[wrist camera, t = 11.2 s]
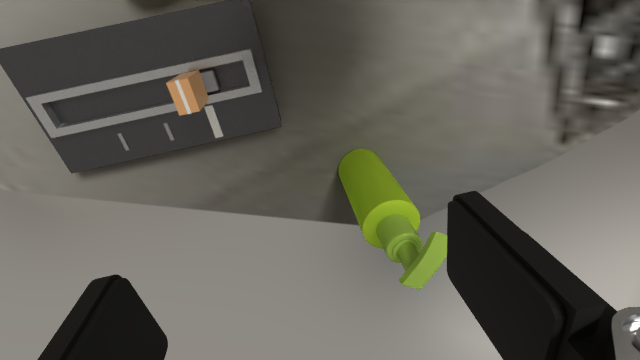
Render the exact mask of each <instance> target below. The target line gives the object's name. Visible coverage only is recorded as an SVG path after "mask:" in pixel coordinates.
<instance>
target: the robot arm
mask: <svg viewBox="0 0 640 360" xmlns="http://www.w3.org/2000/svg"><path fill="white" fill-rule="evenodd" d="M447 230H448V231H447V272H448V276H449V278H450V280H451V282H452V283H453V285H454V286H455V288H456V289H457V291H458V292H459V294H460V295H461V297H462V298H463V300H464V301H465V303H466V304H467V306H468V307H469V309H470V310H471V312H472V313H473V315H474V316H475V318H476V319H477V321H478V322H479V324H480V325H481V327H482V328H483V330H484V331H485V333H486V334H487V336H488V337H489V339H490V340H491V342H492V343H493V345H494V346H495V348H496V349H497V351H498V352H499V354H500V355H501V357H502V358H503V360H640V307H628V308H625V309H622V310H619V311H618V312H617V311H616V310H615V309H614V308H613V307H611V306H610V305H609V304H608V303H607V302H606V301H604V300H603V299H602V298H601V297H600V296H599V295H598V294H596V293H595V292H594V291H593V290H592V289H591V288H589V287H588V286H587V285H586V284H585V283H584V282H582V281H581V280H580V279H579V278H578V277H577V276H576V275H574V274H573V273H572V272H571V271H570V270H569V269H567V268H566V267H565V266H564V265H563V264H562V263H560V262H559V261H558V260H557V259H556V258H554V256H552V255H551V254H550V253H549V252H548V251H547V250H545V249H544V248H543V247H542V246H541V245H540V244H538V243H537V242H536V241H535V240H534V239H533V238H531V237H530V236H529V235H528V234H527V233H525V232H524V231H522V230H521V229H520V228H519V227H518V226H516V225H515V224H514V223H513V222H512V221H510V220H509V219H508V218H507V217H506V216H505V215H504V214H503V213H501V212H500V211H499V210H498V209H497V208H496V207H494V206H493V205H492V204H491V203H490V202H489V201H487V200H486V199H485V198H484V197H483V196H482V195H481V194H479V193H478V192H476V191H471V192H467V193H463V194H458V195H455V196H454V197H453V201H451V202H449V203H448V227H447ZM167 347H168V342H167V337H166V335H165V334H164V332H163V331H162V329H161V328H160V326H159V325H158V323H157V322H156V321H155V319H154V318H153V316H152V315H151V313H150V312H149V310H148V309H147V307H146V306H145V304H144V303H143V301H142V300H141V298H140V297H139V296H138V294H137V292H136V291H135V289H134V288H133V287H132V285H131V283H130V282H129V281H128V280H127V279H126V278H122V277H121V276H119V275H111V276H107V277H103V278H98V279H95V280H93V281H92V282H91V283H90V284H89V285H88V287H87V288H86V290H85V291H84V292H83V294H82V295H81V297H80V298H79V300H78V301H77V303H76V304H75V306H74V307H73V309H72V310H71V311H70V313H69V315H68V316H67V317H66V319H65V320H64V322H63V323H62V325H61V326H60V328H59V329H58V331H57V332H56V333H55V335H54V336H53V338H52V339H51V341H50V342H49V344H48V345H47V347H46V348H45V350H44V351H43V352H42V354H41V355H40V357H39V358H38V360H164V358H165V355H166V351H167Z"/></svg>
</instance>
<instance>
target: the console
mask: <svg viewBox="0 0 640 360" xmlns="http://www.w3.org/2000/svg"><path fill="white" fill-rule="evenodd" d="M0 64H1V66H2V67H3V69H4V70H5V72H6V73H7V75H8V77H9V78H10V80H11V81H12V83H13V84H14V86H15V87H16V89H17V90H18V92H19V93H20V95H21V97H22V98H23V100H24V101H25V103H26V104H27V106H28V107H29V109H30V110H31V112H32V114H33V115H34V117H35V118H36V120H37V121H38V123H39V124H40V126H41V127H42V129H43V130H44V132H45V134H46V135H47V137H48V138H49V140H50V141H51V143H52V144H53V146H54V147H55V149H56V151H57V152H58V154H59V155H60V157H61V158H62V160H63V161H64V163H65V164H66V166H67V167H68V169H69V171H70V172H71V173H76V172H80V171H85V170H89V169H94V168H98V167H103V166H107V165H111V164H116V163H120V162H125V161H129V160H134V159H138V158H143V157H147V156H152V155H156V154H161V153H165V152H170V151H174V150H179V149H183V148H188V147H192V146H197V145H201V144H206V143H210V142H215V141H219V140H223V139H228V138H232V137H237V136H241V135H246V134H250V133H255V132H259V131H264V130H268V129H273V128H277V127H281V119H280V115H279V111H278V107H277V103H276V99H275V95H274V91H273V87H272V83H271V79H270V76H269V72H268V68H267V64H266V60H265V56H264V52H263V48H262V44H261V40H260V36H259V32H258V28H257V25H256V21H255V17H254V13H253V9H252V5H251V1H250V0H230V1H225V2H220V3H215V4H211V5H206V6H201V7H196V8H192V9H187V10H182V11H177V12H173V13H168V14H163V15H158V16H154V17H149V18H144V19H139V20H135V21H130V22H125V23H120V24H116V25H111V26H106V27H101V28H97V29H92V30H87V31H82V32H78V33H73V34H68V35H63V36H59V37H54V38H49V39H44V40H40V41H35V42H30V43H25V44H21V45H16V46H11V47H6V48H2V49H0ZM197 70H199V72H205V71H209V70H214V73H215V76H216V79H217V82H218V85H219V88H220V89H219V90H217V91H212V92H207V94H208V97H209V100H208V101H207V103H206V104H205V105H204V107H203V108H202V109H201V111H199V112H194V113H191V114H185V115H180V116H179V113H178V111H177V108H176V106H175V103H174V101H173V99H172V96H171V94H170V91H169V89H168V87H167V84H166V83H167V82H168V81H170V80H172V79H173V78H175V77H176V76H178V75H179V74H183V73H188V72H192V71H197Z"/></svg>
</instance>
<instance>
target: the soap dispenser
mask: <svg viewBox="0 0 640 360" xmlns="http://www.w3.org/2000/svg"><path fill="white" fill-rule="evenodd" d="M338 172H339V177H340V179H341V182H342V184H343V186H344V189H345V191H346V194H347V196H348V199H349V201H350V204H351V206H352V208H353V211H354V213H355V216H356V218H357V221H358V223H359V225H360V228H361V230H362V233H363V235H364V237H365V239H366V241H367V242H368V243H370V244H371V245H372V246H374V247H377V248H383V249H384V250H385V252H386V254H387V256H388V258H389V259H390V260H391V261H393V262H397V263H402V265H403V267H404V269H405V271H406V272H405V273H404V274H403V275H402V277H401V278H400V279H399V281H400V283H401V284H402V285H405V286H408V287H412V288H416V289H421V288H422V287H423V286H424V285H425V284H426V282H427V281H428V280H429V279H430V278H431V277H432V276H433V275H434V273H435V272H436V271H437V270H438V268H439V267H440V266H441V264H442V262H443V261H444V260H445V258H446V256H447V235H445V234H442V233H439V232H433V233H431V235H430V237H429V238H428V240H427V242H426V244H425V246H424V247H423V243H422V240H421V238H420V236H419V235H418V233H417V230H418V228H419V224H420V214H419V212H418V210H417V208H416V207H415V206H414V204H413V203H412V201H411V200H410V199H409V197H408V196H407V195H406V193H405V192H404V191H403V189H402V188H401V187H400V185H399V184H398V183H397V181H396V180H395V179H394V177H393V176H392V175H391V173H390V172H389V170H388V169H387V168H386V166H385V165H384V164H383V162H382V161H381V160H380V158H379V157H378V156H377V154H375V153H374V152H373V151H371V150H368V149H356V150H353V151H351V152H349V153H348V154H346V155H345V156H344V157H343V159H342V160H341V162H340V164H339V169H338ZM422 247H423V249H422Z"/></svg>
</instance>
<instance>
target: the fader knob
mask: <svg viewBox="0 0 640 360" xmlns="http://www.w3.org/2000/svg"><path fill="white" fill-rule="evenodd" d="M166 84H167V87H168V89H169V91H170V94H171V96H172V99H173V101H174V103H175V106H176V108H177V111H178V113H179V116H180V115H185V114H191V113H194V112H199V111H201V109H202V108H203V107H204V105H205V104H206V103H207V101H208V100H209V97H208V94H207V92H212V91H217V90H219V89H220V88H219V85H218V82H217V79H216V76H215V73H214V70H209V71H205V72H199V70H197V71H192V72H188V73H183V74H179V75H178V76H176V77H175V78H173V79H172V80H170V81H168V82H167V83H166Z"/></svg>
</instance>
